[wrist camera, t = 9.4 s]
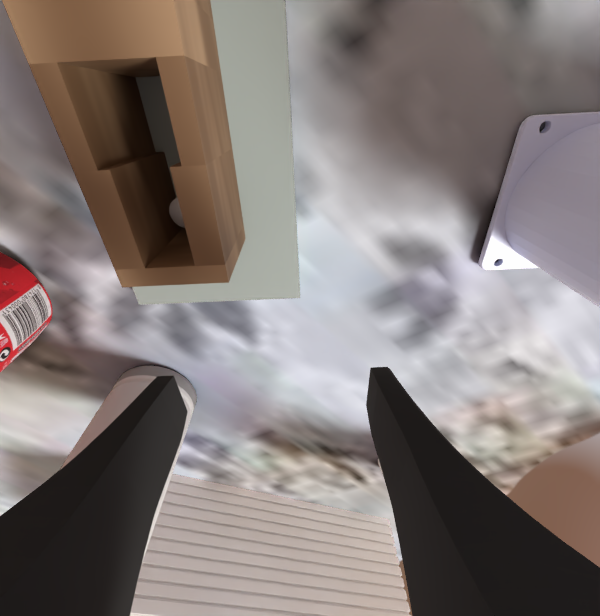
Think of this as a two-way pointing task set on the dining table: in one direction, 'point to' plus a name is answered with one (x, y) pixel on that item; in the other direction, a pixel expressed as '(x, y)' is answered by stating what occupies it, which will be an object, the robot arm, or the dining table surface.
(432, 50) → the dining table surface
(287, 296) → the mounting board
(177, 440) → the robot arm
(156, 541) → the stack of papers
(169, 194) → the wooden compartment box
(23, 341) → the soda can
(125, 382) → the travel mug
